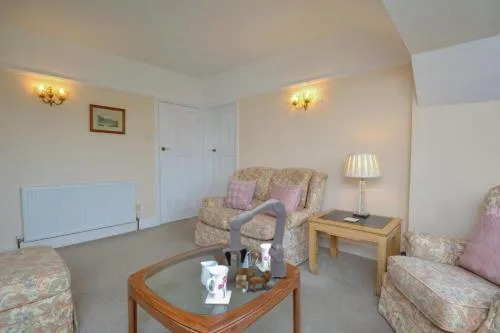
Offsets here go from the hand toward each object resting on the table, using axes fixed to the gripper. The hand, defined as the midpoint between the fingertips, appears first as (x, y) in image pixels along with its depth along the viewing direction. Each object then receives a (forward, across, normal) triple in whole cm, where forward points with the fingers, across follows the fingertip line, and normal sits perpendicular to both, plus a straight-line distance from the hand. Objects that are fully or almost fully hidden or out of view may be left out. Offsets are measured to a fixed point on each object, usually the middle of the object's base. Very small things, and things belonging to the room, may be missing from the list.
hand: (235, 264), depth 144 cm
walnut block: (+10, -7, -2) cm, 12 cm away
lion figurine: (+10, -8, +13) cm, 18 cm away
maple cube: (+10, 0, +6) cm, 12 cm away
